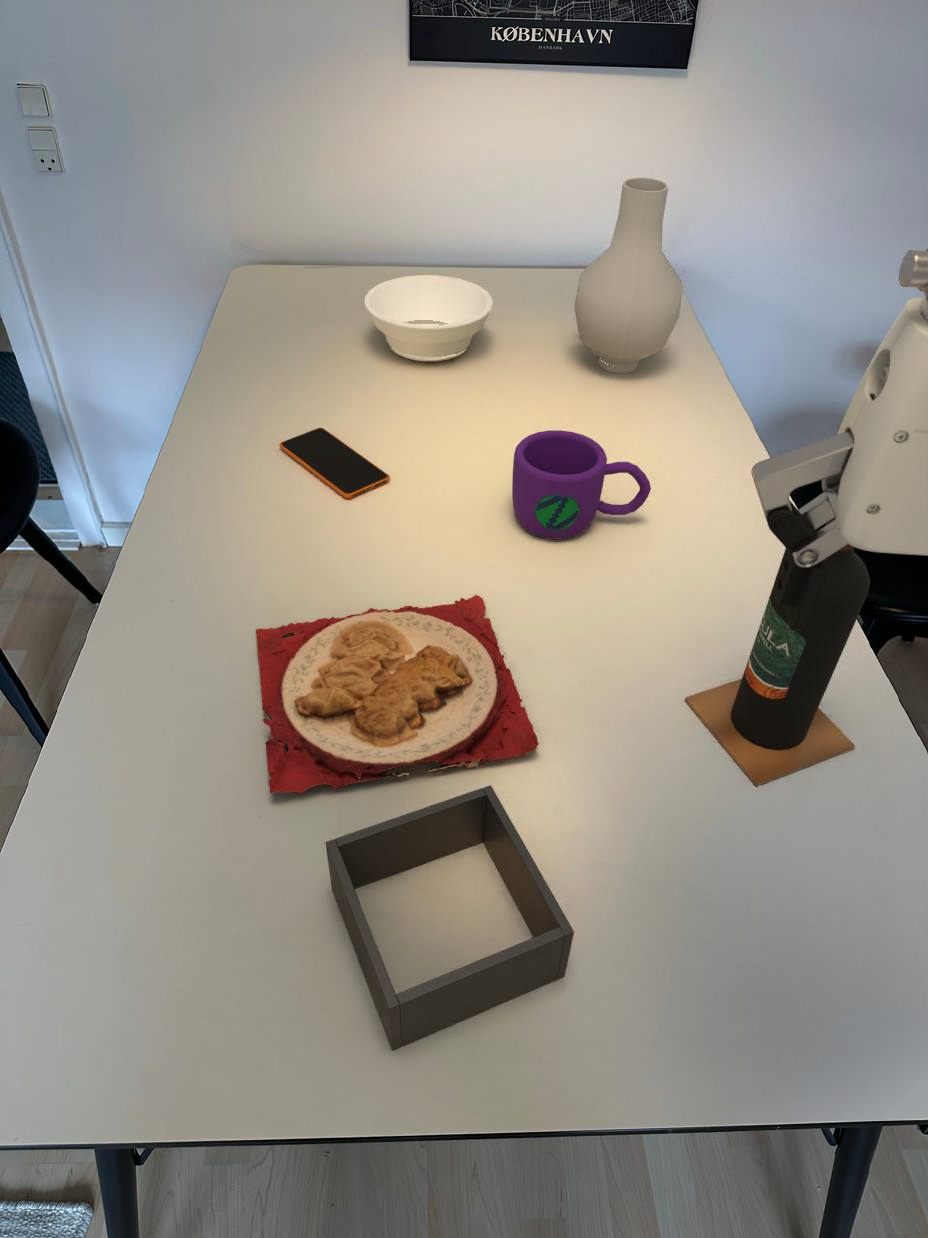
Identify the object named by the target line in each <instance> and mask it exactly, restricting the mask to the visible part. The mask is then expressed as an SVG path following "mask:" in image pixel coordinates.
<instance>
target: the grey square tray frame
mask: <svg viewBox="0 0 928 1238" xmlns="http://www.w3.org/2000/svg"><path fill="white" fill-rule="evenodd" d="M481 843H483V844H484V846H485V848H486V850H487V852H488V854H489V856H490V858H491V859H492V861H493V863H494V865H495V867H496V869H497V871H498V873H499V875H500V876H501V878H502V880H503V883H504V884H505V886H506V888H507V890H508V891H509V893H510V895H511V898H512V899H513V901H514V903H515V905H516V907H517V908H518V910H519V912H520V914H521V916H522V918H523V920H524V922H525V924H526V925H527V927H528V930H529V931H530V933H531V936H532V938H529V939H527V940H524V941H522V942H519V943H517V944H514V945H512V946H510V947H507V948H505V949H503V950H500V951H498V952H496V953H493V954H490V955H488V956H485V957H484V958H480V959H478V960H476V961H472V962H471V963H469V964H466V965H463V966H461V967H459V968H457V969H454V970H452V971H449V972H446V973H443V974H442V975H440V976H436V977H434V978H432V979H430V980H427V981H424V982H422V983H420V984H418V985H415V986H412V987H410V988H408V989H405V990H403V991H401V992H398V993H396V991H395V989H394V987H393V984H392V981H391V979H390V976H389V974H388V971H387V969H386V966H385V963H384V960H383V958H382V955H381V953H380V950H379V948H378V946H377V943H376V941H375V938H374V935H373V932H372V930H371V928H370V926H369V922H368V920H367V917H366V915H365V912H364V910H363V907H362V904H361V902H360V900H359V897H358V895H357V892H356V889H358V888H361V887H364V886H367V885H369V884H372V883H375V882H377V881H380V880H383V879H386V878H389V877H392V876H394V875H396V874H400V873H402V872H405V871H408V870H411V869H413V868H416V867H418V866H422V865H424V864H427V863H430V862H433V861H435V860H438V859H441V858H443V857H445V856H449V855H451V854H454V853H457V852H459V851H462V850H465V849H468V848H470V847H473V846H476V845H479V844H481ZM325 850H326V857H327V864H328V870H329V871H328V872H329V878H330V888H331V891H332V894H333V897H334V899H335V902H336V905H337V907H338V911H339V913H340V915H341V918H342V921H343V923H344V926H345V928H346V932H347V934H348V937H349V940H350V942H351V945H352V949H353V951H354V953H355V955H356V958H357V961H358V964H359V967H360V970H361V972H362V975H363V977H364V980H365V982H366V985H367V988H368V991H369V994H370V996H371V999H372V1002H373V1004H374V1007H375V1010H376V1011H377V1012H376V1013H377V1015H378V1018H379V1020H380V1024H381V1025H382V1028H383V1031H384V1033H385V1036H386V1039H387V1043H388V1044H389V1047H390V1050H391V1051H395V1050H397V1049H399V1048H402V1047H404V1046H407V1045H409V1044H411V1043H414V1042H417V1041H418V1040H421V1039H424V1038H425V1037H428V1036H430V1035H432V1034H436V1033H437V1032H439V1031H441V1030H444V1029H446V1028H448V1027H451V1026H453V1025H456V1024H458V1023H460V1022H464V1021H465V1020H467V1019H469V1018H472V1017H474V1016H476V1015H478V1014H481V1013H484V1012H486V1011H488V1010H490V1009H493V1008H495V1007H497V1006H500V1005H502V1004H504V1003H507V1002H509V1001H511V1000H513V999H516V998H518V997H521V996H523V995H525V994H527V993H530V992H532V991H534V990H537V989H539V988H541V987H545V986H546V985H549V984H550V983H553V982H556V981H557V980H559V979H561V978H564V977H565V976H566V972H567V967H568V962H569V958H570V953H571V949H572V945H573V939H574V934H575V931H574V929H573V927H572V925H571V924H570V922H569V920H568V918H567V916H566V915H565V913H564V911H563V910H562V908H561V906H560V905H559V903H558V901H557V899H556V897H555V896H554V893H553V892H552V890H551V889H550V887H549V885H548V882H547V881H546V879H545V877H544V876H543V874H542V873H541V871H540V870H539V867H538V866H537V863H536V862H535V860H534V858H533V857H532V854H531V853H530V852H529V850H528V848H527V846H526V844H525V843H524V840H523V839H522V837H521V835H520V834H519V832H518V830H517V828H516V827H515V825H514V823H513V821H512V819H511V818H510V816H509V815H508V812H507V811H506V809H505V808H504V805H503V804H502V802H501V800H500V799H499V797H498V795H497V793H496V791H495V790H494V787H493V786H492V785H491V784H490V785H487V786H484V787H481V788H478V789H474V790H471V791H469V792H466V793H463V794H460V795H458V796H454V797H452V798H449V799H446V800H443V801H439V802H436V803H433V804H432V805H431V804H430V805H428V806H425V807H423V808H419V809H417V810H414V811H411V812H409V813H405V814H403V815H399V816H396V817H394V818H391V819H388V820H385V821H381V822H379V823H377V824H374V825H371V826H368V827H365V828H362V829H359V830H356V831H353V832H350V833H348V834H347V833H346V834H344V835H341V836H339V837H335V838H333V839H329V840H327V841H325Z"/></svg>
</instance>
